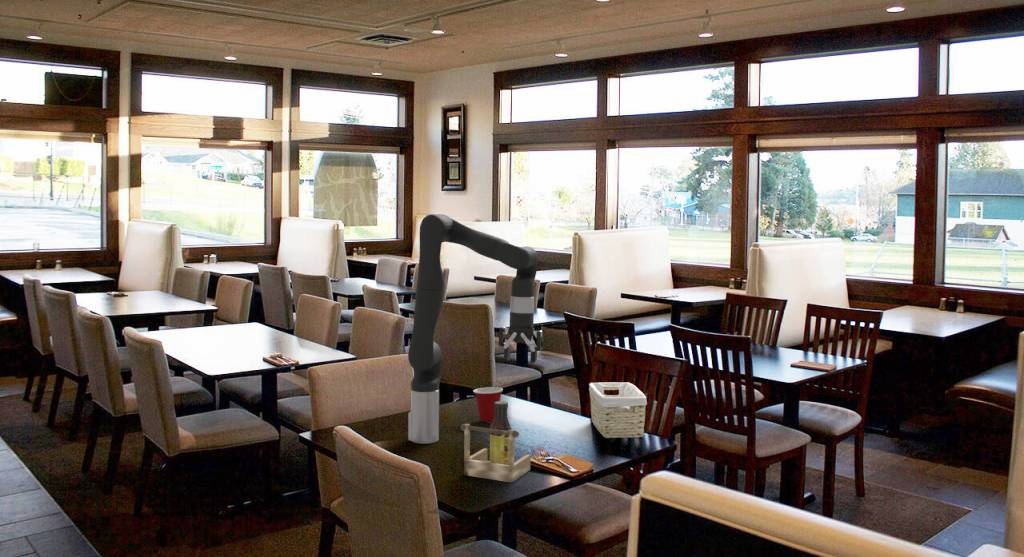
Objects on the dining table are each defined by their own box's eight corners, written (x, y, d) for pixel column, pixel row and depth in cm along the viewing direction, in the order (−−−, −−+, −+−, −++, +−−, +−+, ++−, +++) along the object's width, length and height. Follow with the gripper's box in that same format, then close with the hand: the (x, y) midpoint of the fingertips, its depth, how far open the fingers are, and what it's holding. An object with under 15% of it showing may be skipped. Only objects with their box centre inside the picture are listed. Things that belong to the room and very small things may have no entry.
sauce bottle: (507, 472, 254) (508, 405, 252) (487, 471, 256) (488, 404, 254) (512, 466, 261) (513, 400, 259) (492, 464, 262) (493, 399, 260)
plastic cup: (485, 416, 323) (485, 384, 322) (508, 420, 317) (509, 388, 316) (466, 421, 314) (467, 389, 313) (490, 426, 308) (490, 393, 307)
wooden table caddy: (458, 474, 254) (459, 424, 253) (479, 462, 267) (479, 414, 265) (516, 483, 247) (517, 431, 246) (534, 470, 259) (535, 421, 258)
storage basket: (647, 439, 295) (648, 396, 294) (600, 439, 294) (601, 396, 292) (630, 421, 319) (631, 381, 318) (586, 421, 317) (587, 381, 316)
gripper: (496, 310, 272) (494, 361, 273) (538, 313, 266) (536, 366, 267) (505, 307, 278) (504, 357, 280) (547, 311, 273) (545, 362, 274)
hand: (520, 361), depth 274 cm, fingers open, 8 cm apart
